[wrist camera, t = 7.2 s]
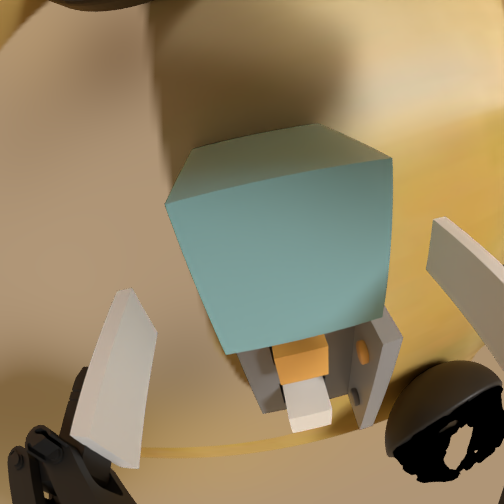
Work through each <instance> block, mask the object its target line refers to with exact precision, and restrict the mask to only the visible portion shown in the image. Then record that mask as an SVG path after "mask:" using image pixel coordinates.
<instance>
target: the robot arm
mask: <svg viewBox="0 0 504 504" xmlns="http://www.w3.org/2000/svg"><path fill="white" fill-rule="evenodd" d="M49 1H51V2H54V3H57V4H60V5H63V6H65V7H68V8H71V9H75V10H80V11H110V10H117V9H123V8H128V7H132V6H137V5H140V4H144V3H147V2H150V1H153V0H49ZM426 270H427V271H428V273H429V274H430V275H431V276H432V277H433V278H434V279H435V281H436V282H437V283H438V284H439V285H440V286H441V288H442V289H443V290H444V291H445V292H446V294H447V295H448V296H449V297H450V298H451V300H452V301H453V302H454V303H455V305H456V306H457V307H458V308H459V310H460V311H461V312H462V313H463V315H464V316H465V317H466V319H467V320H468V321H469V323H470V324H471V325H472V327H473V328H474V329H475V331H476V332H477V333H478V335H479V336H480V337H481V339H482V340H483V342H484V343H485V345H486V346H487V347H488V349H489V350H490V352H491V353H492V354H493V356H494V358H495V359H496V361H497V362H498V364H499V365H500V367H501V368H502V370H503V371H504V265H502V264H501V263H500V262H499V261H498V260H497V259H496V258H494V257H493V256H492V255H491V254H490V253H489V252H488V251H487V250H486V249H484V248H483V247H482V246H481V245H480V244H479V243H477V242H476V241H475V240H474V239H473V238H472V237H470V236H469V235H468V234H467V233H466V232H464V231H463V230H462V229H461V228H459V227H458V226H457V225H456V224H454V223H453V222H452V221H451V220H449V219H448V218H447V217H440V218H436V219H433V224H432V233H431V241H430V248H429V254H428V260H427V266H426ZM157 335H158V332H157V331H156V329H155V327H154V326H153V324H152V322H151V321H150V319H149V317H148V316H147V314H146V312H145V310H144V308H143V307H142V305H141V304H140V301H139V300H138V298H137V296H136V294H135V292H134V290H133V289H132V288H128V289H124V290H119V291H117V292H116V294H115V297H114V299H113V302H112V304H111V307H110V309H109V312H108V314H107V317H106V319H105V322H104V325H103V327H102V330H101V333H100V335H99V338H98V341H97V344H96V347H95V349H94V352H93V355H92V358H91V361H90V364H89V367H83V368H82V370H81V371H80V373H79V374H78V375H77V377H76V379H75V382H74V385H73V388H72V390H73V392H71V395H70V398H69V399H70V401H69V402H68V405H67V408H66V412H65V416H64V419H63V423H62V427H61V431H60V434H59V436H58V435H57V434H56V433H54V432H53V431H51V430H50V429H49V428H47V427H46V426H44V425H38V426H36V427H34V428H33V429H32V430H31V431H30V432H29V433H28V435H27V437H26V442H25V448H23V447H22V446H16V447H14V448H13V449H12V450H11V452H10V453H9V456H8V473H9V483H10V490H11V496H12V503H13V504H136V502H135V501H134V499H133V498H132V497H131V495H130V494H129V493H128V491H127V490H126V488H125V487H124V485H123V484H122V482H121V481H120V479H119V478H118V476H117V475H116V473H115V472H114V471H113V470H112V469H111V468H110V467H111V462H113V463H114V464H116V465H118V466H120V467H125V468H135V469H139V461H140V452H141V441H142V433H143V424H144V416H145V408H146V401H147V394H148V387H149V381H150V374H151V368H152V363H153V356H154V351H155V345H156V340H157ZM43 491H45V492H47V493H49V499H46V498H45V497H44V493H43ZM498 504H504V488H503V491H502V494H501V497H500V500H499V503H498Z"/></svg>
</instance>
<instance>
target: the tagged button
mask: <svg viewBox="0 0 504 504" xmlns="http://www.w3.org/2000/svg"><path fill="white" fill-rule="evenodd" d="M272 350H273V356H274V361H275V364H276V368H277V372H278V376H279V380H280V383H281V385H285V384H290V383H294V382H299V381H303V380H307V379H311V378H315V377H319V376H323V375H327V374H328V344H327V341H326V338H325V335H324V334H322V335H318V336H314V337H310V338H306V339H301V340H297V341H293V342H289V343H284V344H279V345H275V346H272Z"/></svg>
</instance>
